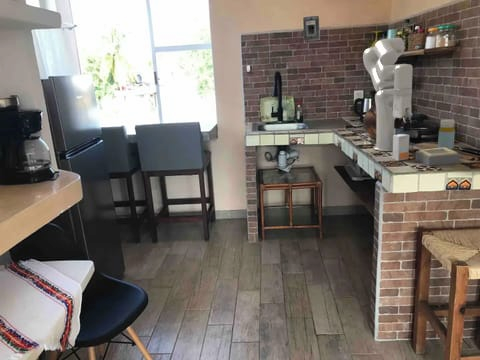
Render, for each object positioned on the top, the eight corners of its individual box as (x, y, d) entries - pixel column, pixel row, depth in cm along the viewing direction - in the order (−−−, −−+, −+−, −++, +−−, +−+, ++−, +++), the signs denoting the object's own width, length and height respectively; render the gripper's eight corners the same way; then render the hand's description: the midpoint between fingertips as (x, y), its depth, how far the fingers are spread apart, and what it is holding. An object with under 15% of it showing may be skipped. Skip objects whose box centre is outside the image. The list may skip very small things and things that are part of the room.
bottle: (434, 149, 193) (436, 120, 188) (444, 147, 195) (446, 118, 191) (446, 152, 187) (448, 122, 182) (456, 149, 189) (459, 120, 184)
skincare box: (398, 161, 180) (398, 136, 176) (392, 159, 183) (392, 135, 180) (408, 159, 181) (409, 134, 177) (402, 157, 185) (403, 133, 181)
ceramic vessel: (400, 139, 221) (402, 87, 213) (372, 142, 220) (372, 90, 212) (384, 133, 242) (385, 85, 233) (358, 136, 240) (357, 88, 232)
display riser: (415, 159, 179) (416, 149, 178) (444, 156, 179) (445, 146, 178) (428, 166, 168) (429, 155, 166) (459, 162, 168) (460, 152, 166)
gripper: (387, 92, 181) (386, 127, 186) (403, 94, 164) (402, 133, 169) (402, 91, 181) (401, 126, 186) (420, 92, 164) (418, 131, 169)
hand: (401, 129), depth 177 cm, fingers open, 9 cm apart
